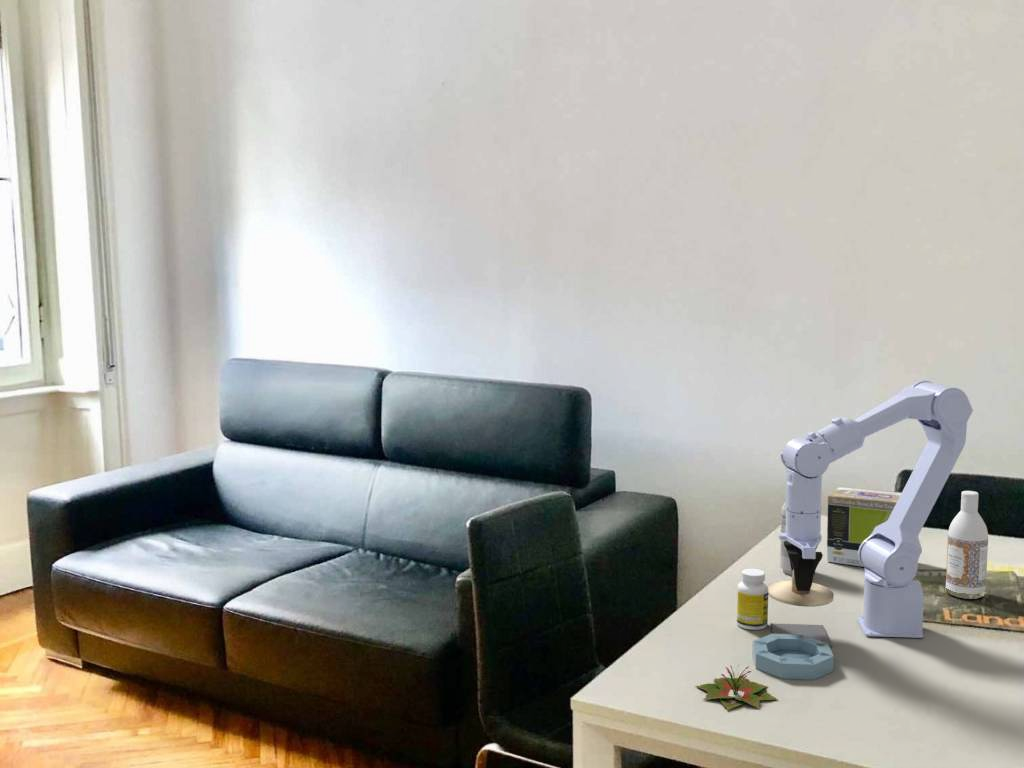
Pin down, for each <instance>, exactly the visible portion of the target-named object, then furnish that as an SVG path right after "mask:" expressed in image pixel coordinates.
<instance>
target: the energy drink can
mask: <svg viewBox="0 0 1024 768" xmlns="http://www.w3.org/2000/svg"><path fill="white" fill-rule="evenodd" d="M780 515H781V516H780V533H785V532H786V498H785V499H784V503H783V504H782V506H781V513H780ZM784 541H786V540H780V554H779V555H780V561H779V562H780V565H779V567H780V568H781V569H782V573H784V574H786V575H790V576H792V572H791V565H790V560H789V556H788V553H787V550H786V548H785V546H784V544H783V542H784Z"/></svg>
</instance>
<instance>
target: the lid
mask: <svg viewBox="0 0 1024 768" xmlns="http://www.w3.org/2000/svg"><path fill="white" fill-rule="evenodd" d="M768 597H770V598H771V599H772V600H775V601H777V602H780V603H782V604H785V605H790V606H797V607H805V608H806V607H811V608H812V607H814V608H815V607H821V606H823V607H824V606H826V605H829V604H831V603H832V602H833V601H834V599H835V598H834V597H835V594H834V591H833V590H832V589H830V588H829V587H827V586H824V585H822V584H819V583H816V582H812V585H811V589H810V591H797V588H796V584H795V578H794V570H793V571H792V575H791V580H784V581H783V580H782V581H776V582H774V583H771V584H770V585H769V586H768Z"/></svg>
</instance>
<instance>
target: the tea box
mask: <svg viewBox="0 0 1024 768" xmlns="http://www.w3.org/2000/svg"><path fill="white" fill-rule="evenodd" d="M901 493H902V492H901V491H899V492H898V491H890V490H881V489H869V488H868V489H867V488H860V487H849V486H839V487H837V488H836V489H835V490H834V491H832V493H830V494H828V495H827V516H826V517H827V522H826V523H827V527H826V530H827V531H826V561H827V562H828V563H834V564H842V565H847V566H849V565H850V566H856V567H863V566H862V564H861V563H860V561H859V559H858V550H859V547H860V545H861V544H862V542H863V541H864V540H865V539H867V538H868V537H869V536H870V535H871V534H872V532H873V530H874V528H875V527H876V526H878V525H880V524H882V523H884V522H886V521H887V520H888V519H889V517H890V515H891V513H892V511H893V509H894V507H895V505H896V503H897V501H898V499H899V497H900V495H901ZM863 568H864V567H863Z"/></svg>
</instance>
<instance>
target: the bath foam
mask: <svg viewBox="0 0 1024 768" xmlns="http://www.w3.org/2000/svg"><path fill="white" fill-rule="evenodd" d="M960 495H961V496H960V497H961V499H960V511H959V512H958V513H957V514H956V515H955V516H954V518H953V519H952V521H951V522H950V525H949V527H948V533H947V548H946V549H947V550H946V551H947V552H946V569H945V570H946V572H945V573H946V574H945V589H946V588H947V589H949V590H951V591H953V592H957V593H966V594H978V593H982V592H984V591H985V590H986V588H987V574H988V573H987V570H988V569H987V568H988V550H989V532H988V527H987V525H986V523H985V521H984V519H983V517H982V516H981V515H980V513H979V511H978V509H979V493H978V492H977V491H975V490H974V491H973V490H963V491H961V494H960ZM986 591H987V590H986ZM986 591H985V592H986Z"/></svg>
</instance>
